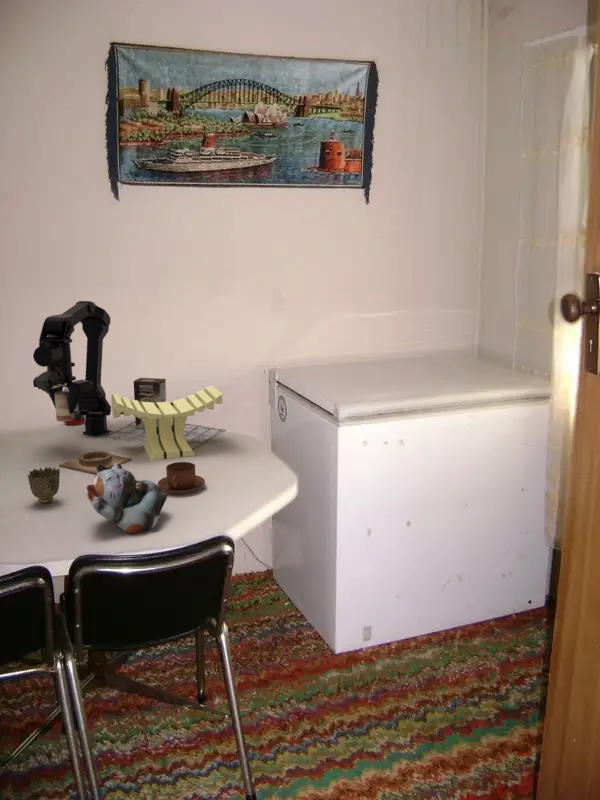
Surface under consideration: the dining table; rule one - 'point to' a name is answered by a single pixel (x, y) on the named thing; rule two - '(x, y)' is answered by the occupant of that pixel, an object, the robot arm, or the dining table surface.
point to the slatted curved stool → (166, 420)
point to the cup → (44, 484)
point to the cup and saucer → (181, 479)
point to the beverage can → (76, 416)
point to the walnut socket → (94, 461)
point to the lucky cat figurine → (126, 499)
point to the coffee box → (149, 394)
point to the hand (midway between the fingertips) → (65, 412)
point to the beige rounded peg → (62, 407)
